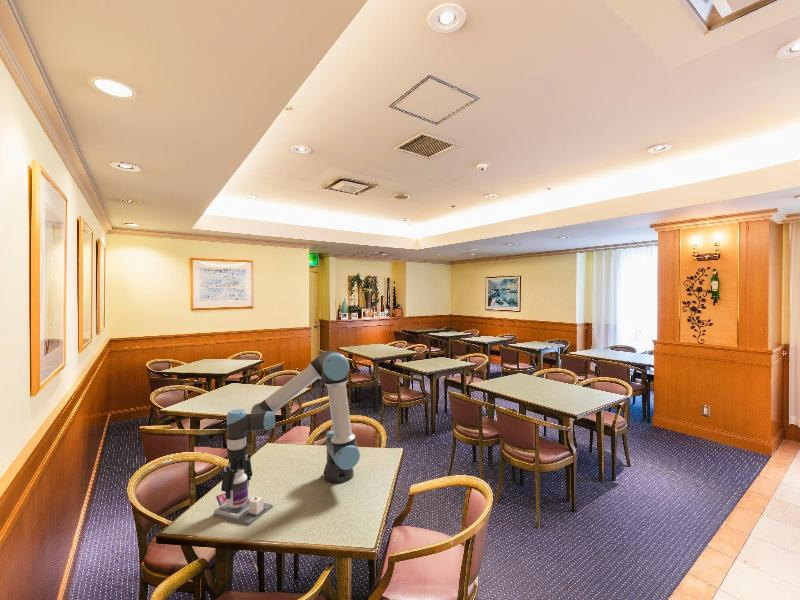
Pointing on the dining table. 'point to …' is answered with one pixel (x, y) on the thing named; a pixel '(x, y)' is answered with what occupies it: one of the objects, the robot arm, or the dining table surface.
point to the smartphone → (222, 499)
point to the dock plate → (243, 511)
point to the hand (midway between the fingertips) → (237, 500)
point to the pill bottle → (239, 489)
